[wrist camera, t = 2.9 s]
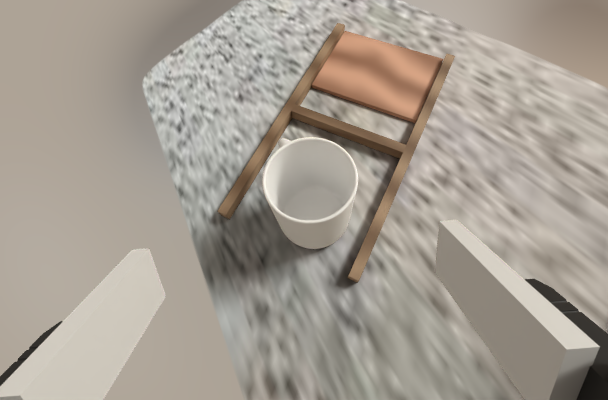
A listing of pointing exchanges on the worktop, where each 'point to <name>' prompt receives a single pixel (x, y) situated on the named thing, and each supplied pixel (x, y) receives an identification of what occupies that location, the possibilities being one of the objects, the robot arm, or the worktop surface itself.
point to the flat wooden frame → (366, 91)
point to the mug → (311, 190)
